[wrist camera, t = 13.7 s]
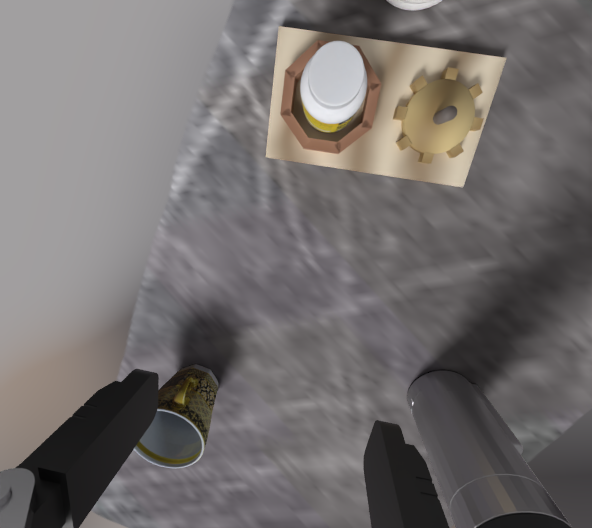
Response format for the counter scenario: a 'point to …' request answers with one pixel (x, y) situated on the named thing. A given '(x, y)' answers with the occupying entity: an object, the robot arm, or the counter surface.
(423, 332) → the counter surface
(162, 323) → the counter surface
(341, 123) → the supplement bottle
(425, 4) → the coaster
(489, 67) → the gear board
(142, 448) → the ceramic cup
